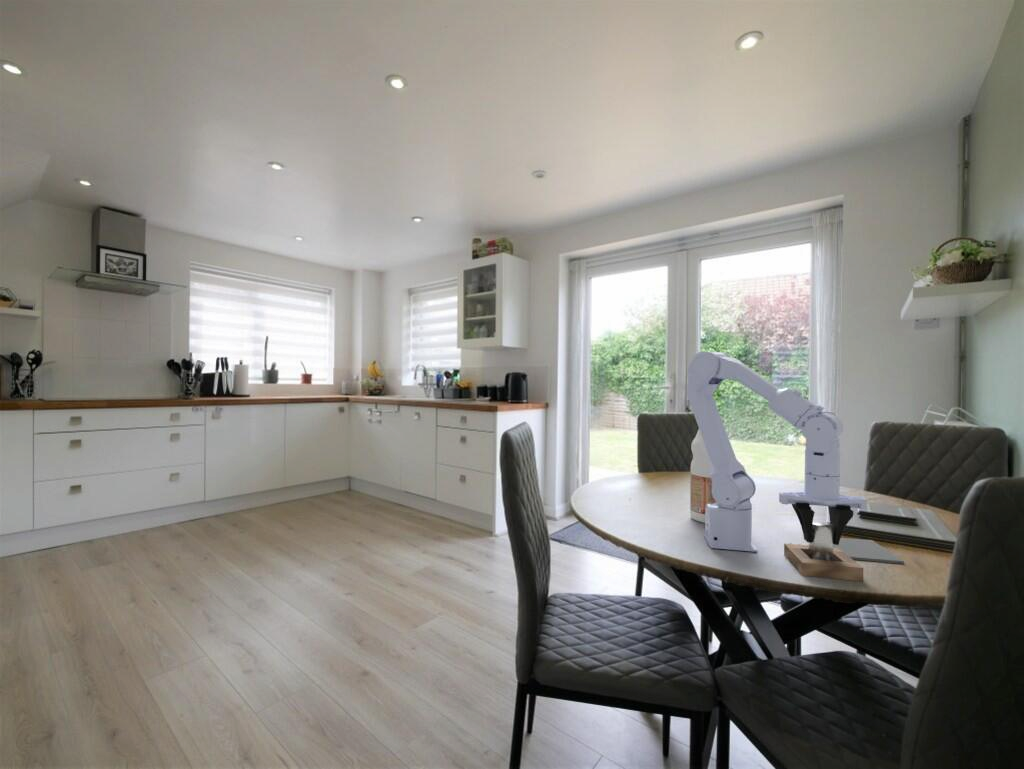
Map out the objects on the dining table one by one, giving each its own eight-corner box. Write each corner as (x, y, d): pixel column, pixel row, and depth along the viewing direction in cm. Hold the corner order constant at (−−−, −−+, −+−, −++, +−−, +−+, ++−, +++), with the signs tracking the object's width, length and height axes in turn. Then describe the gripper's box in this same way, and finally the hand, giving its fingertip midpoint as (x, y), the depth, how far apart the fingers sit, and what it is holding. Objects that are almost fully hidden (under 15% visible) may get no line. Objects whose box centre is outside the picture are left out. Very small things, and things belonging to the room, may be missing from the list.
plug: (813, 562, 87) (813, 526, 87) (805, 554, 91) (805, 520, 91) (836, 564, 86) (837, 528, 86) (827, 556, 90) (828, 521, 90)
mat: (835, 557, 93) (836, 555, 93) (812, 537, 105) (812, 535, 105) (904, 563, 90) (904, 561, 90) (872, 542, 102) (872, 540, 102)
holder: (802, 575, 85) (802, 562, 85) (784, 555, 95) (784, 543, 95) (863, 581, 83) (863, 567, 83) (838, 559, 92) (838, 547, 92)
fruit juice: (684, 519, 119) (685, 414, 118) (697, 511, 125) (698, 412, 125) (721, 527, 112) (722, 416, 112) (733, 518, 119) (734, 414, 119)
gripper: (787, 476, 86) (787, 545, 87) (875, 480, 83) (874, 553, 83) (776, 468, 93) (775, 533, 93) (856, 472, 90) (855, 539, 90)
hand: (820, 541), depth 89 cm, fingers closed on plug, 4 cm apart
